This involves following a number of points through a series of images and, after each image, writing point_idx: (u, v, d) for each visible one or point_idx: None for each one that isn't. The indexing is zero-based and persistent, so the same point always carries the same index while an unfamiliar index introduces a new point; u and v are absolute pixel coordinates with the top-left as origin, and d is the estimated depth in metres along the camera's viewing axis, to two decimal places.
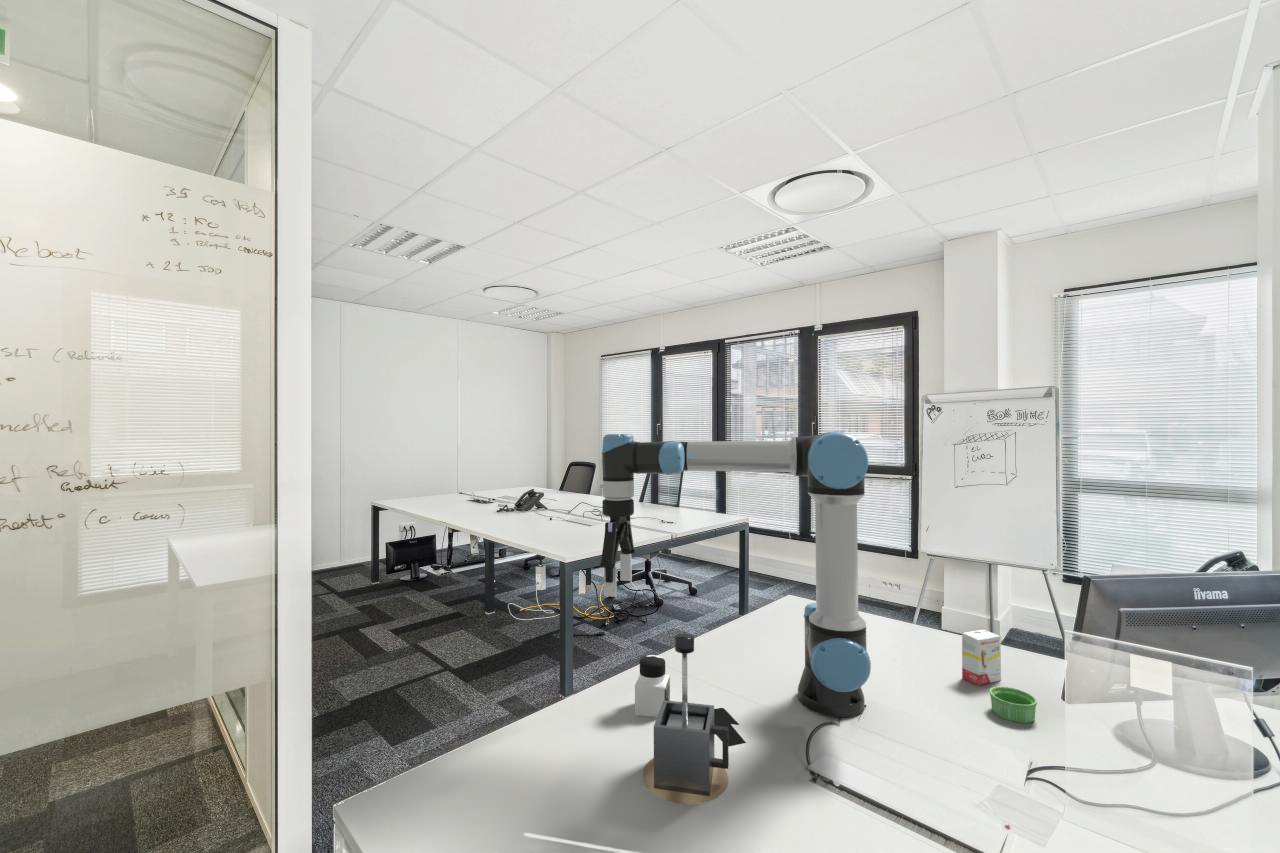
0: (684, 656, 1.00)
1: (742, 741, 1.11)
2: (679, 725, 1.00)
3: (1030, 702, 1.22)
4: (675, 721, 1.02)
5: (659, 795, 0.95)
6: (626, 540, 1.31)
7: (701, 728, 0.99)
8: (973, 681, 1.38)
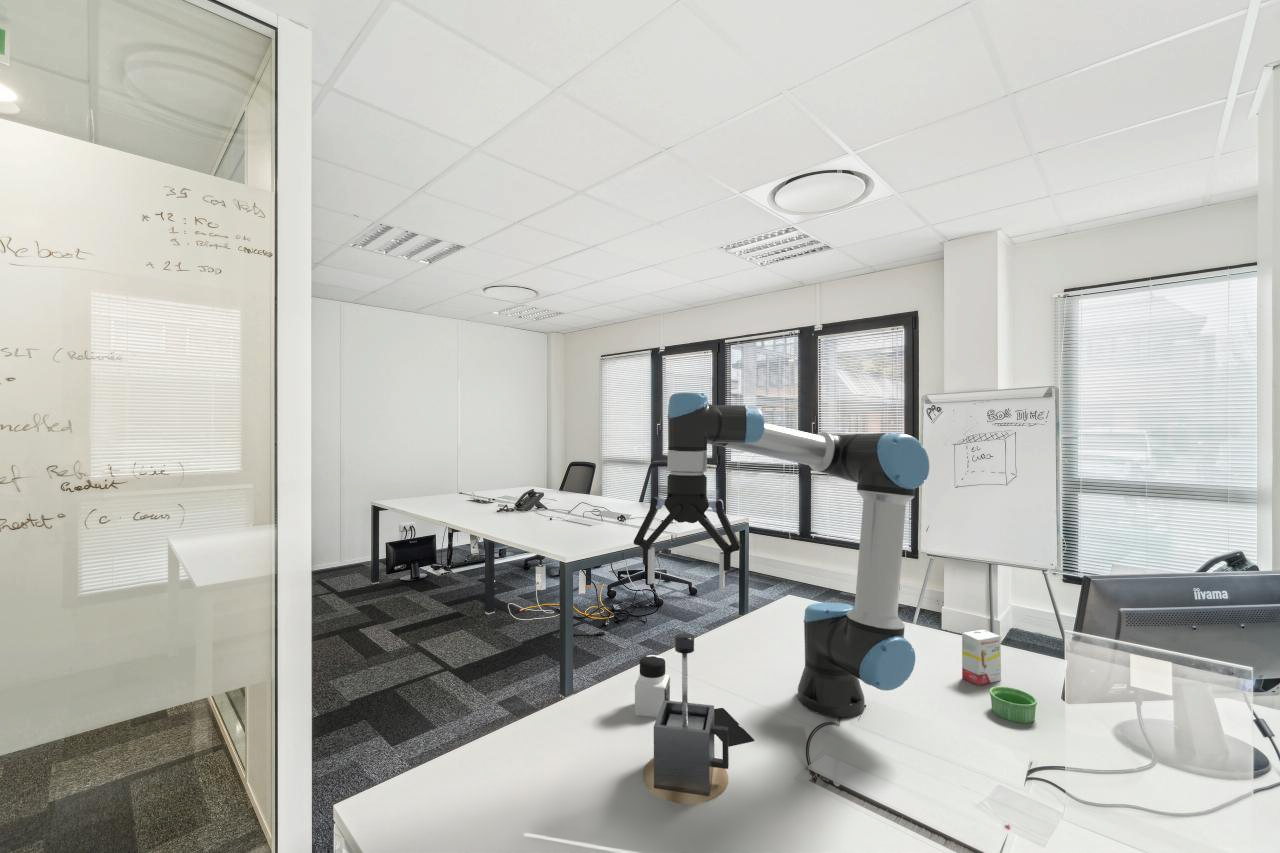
0: (684, 656, 1.00)
1: (742, 741, 1.11)
2: (679, 725, 1.00)
3: (1030, 702, 1.22)
4: (675, 721, 1.02)
5: (659, 795, 0.95)
6: (707, 531, 1.00)
7: (701, 728, 0.99)
8: (973, 681, 1.38)
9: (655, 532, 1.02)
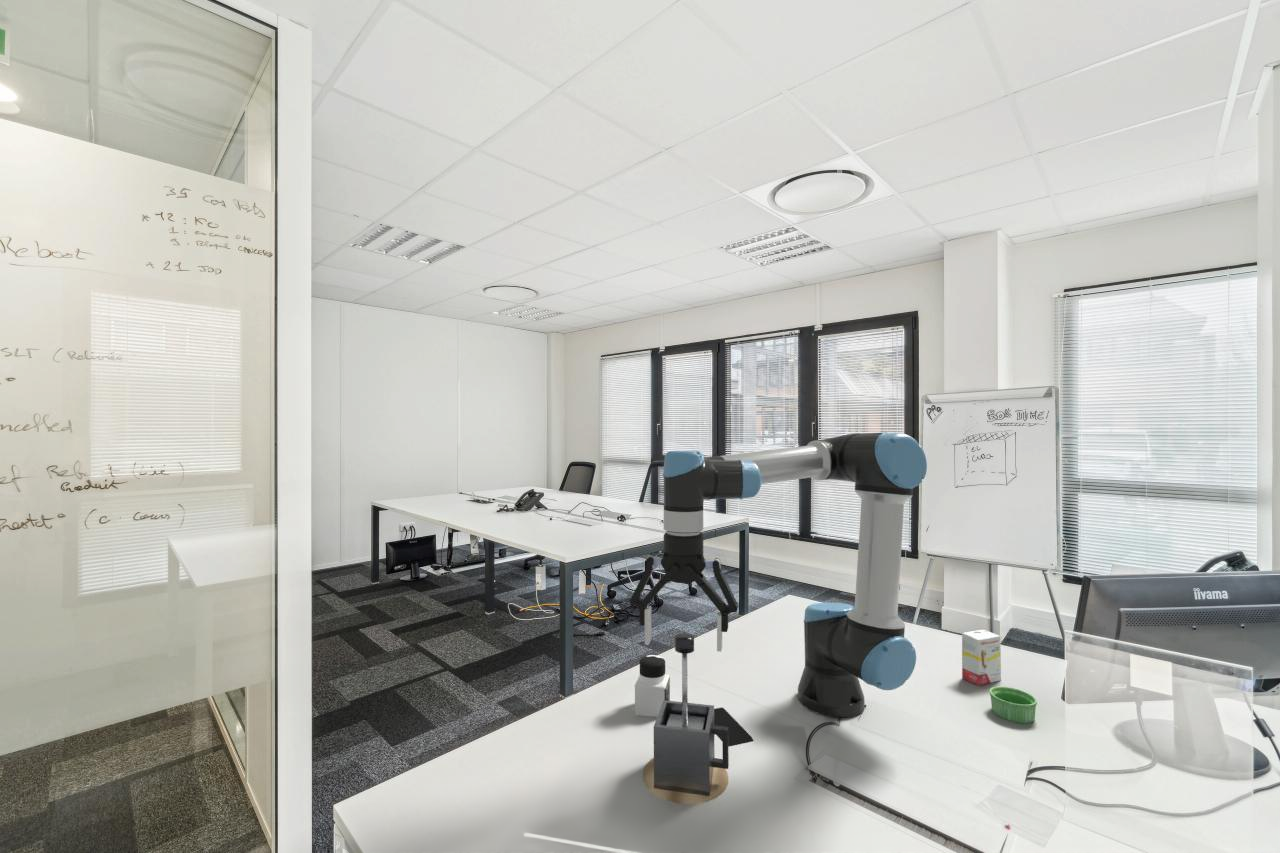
0: (684, 656, 1.00)
1: (742, 741, 1.11)
2: (679, 725, 1.00)
3: (1030, 702, 1.22)
4: (675, 721, 1.02)
5: (659, 795, 0.95)
6: None
7: (701, 728, 0.99)
8: (973, 681, 1.38)
9: (651, 592, 1.01)
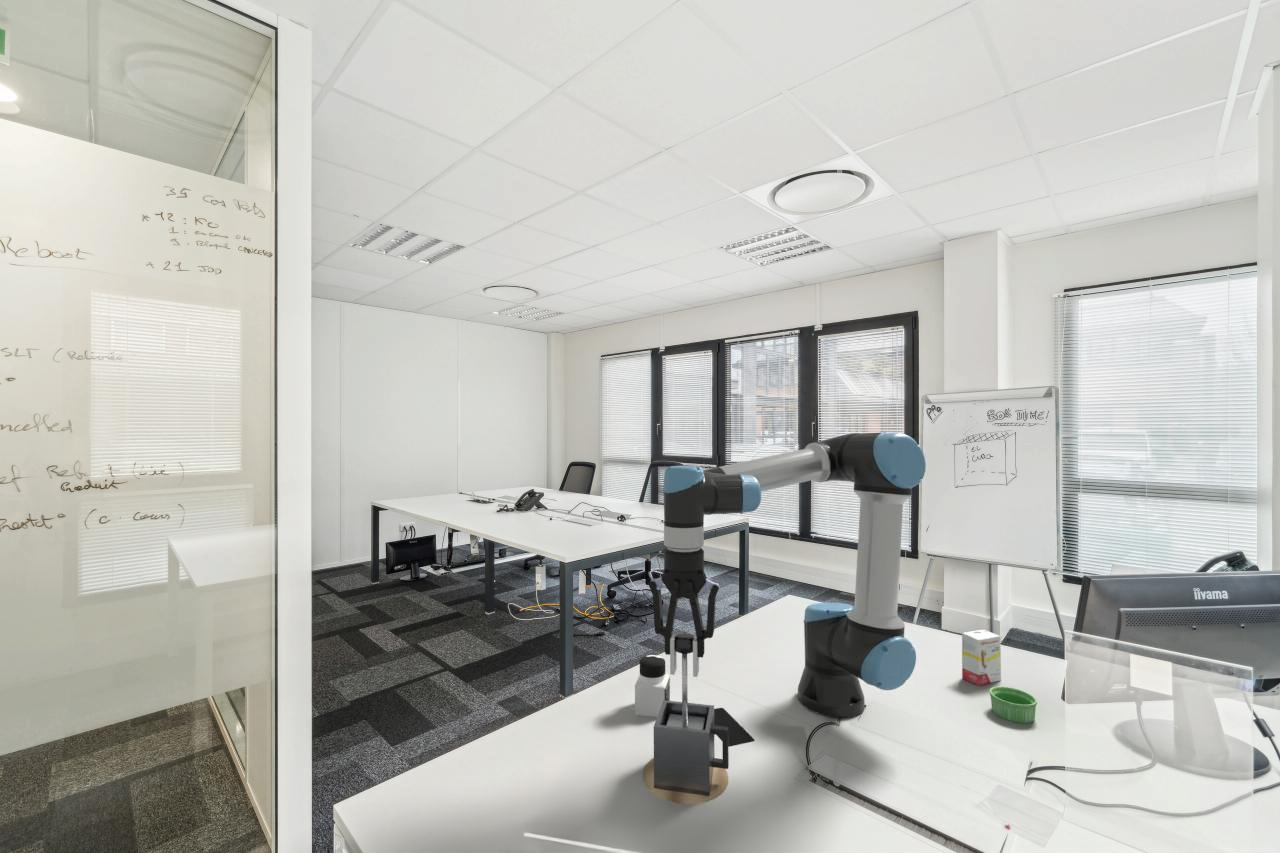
0: (684, 656, 1.00)
1: (742, 741, 1.11)
2: (679, 725, 1.00)
3: (1030, 702, 1.22)
4: (675, 721, 1.02)
5: (659, 795, 0.95)
6: (692, 611, 1.00)
7: (701, 728, 0.99)
8: (973, 681, 1.38)
9: (668, 617, 1.00)
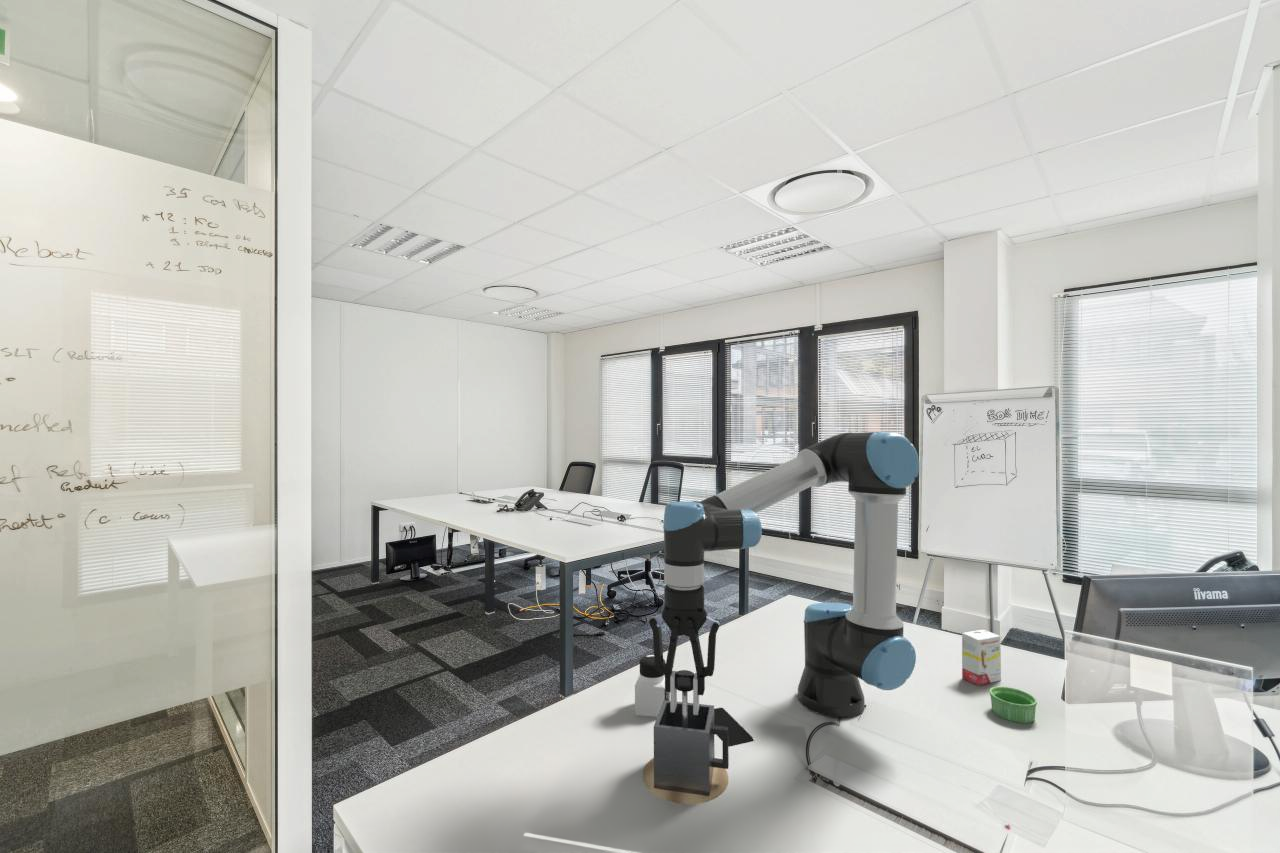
0: (684, 694, 1.00)
1: (743, 741, 1.11)
2: None
3: (1030, 702, 1.22)
4: None
5: (659, 795, 0.95)
6: (692, 649, 1.00)
7: None
8: (973, 681, 1.38)
9: (669, 655, 1.00)
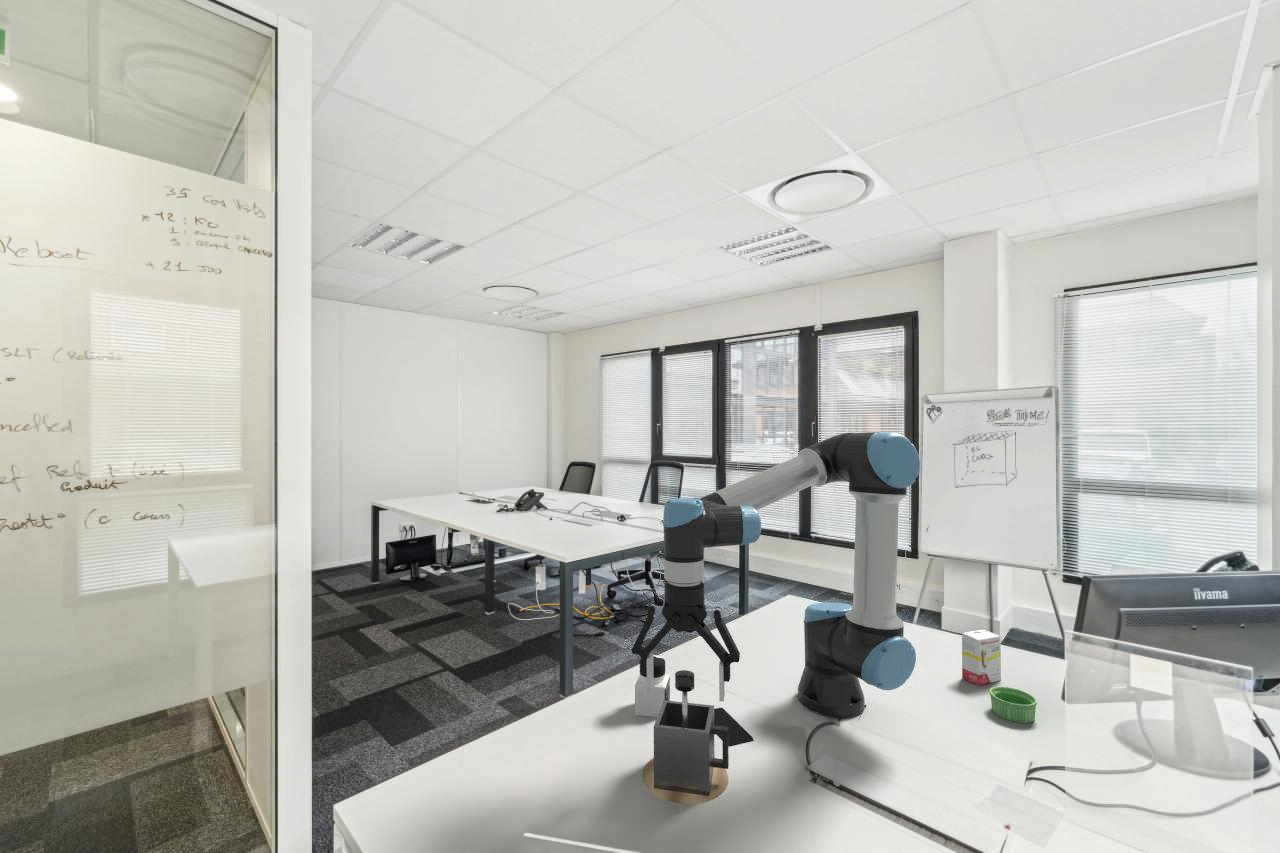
0: (684, 694, 1.00)
1: (743, 741, 1.11)
2: None
3: (1030, 702, 1.22)
4: None
5: (659, 795, 0.95)
6: None
7: None
8: (973, 681, 1.38)
9: (653, 641, 1.01)
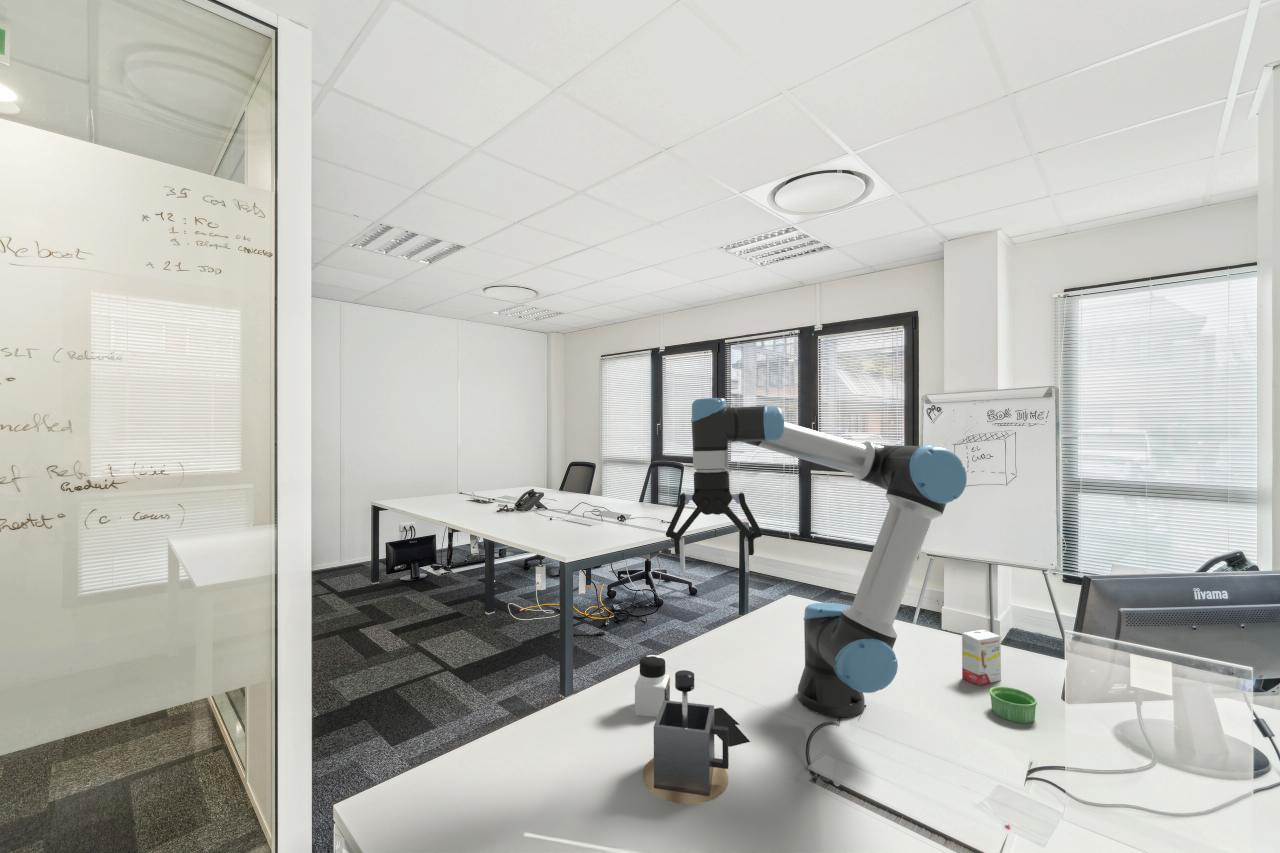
0: (684, 694, 1.00)
1: (743, 741, 1.11)
2: None
3: (1030, 702, 1.22)
4: None
5: (659, 795, 0.95)
6: (732, 521, 1.13)
7: None
8: (973, 681, 1.38)
9: (685, 524, 1.14)
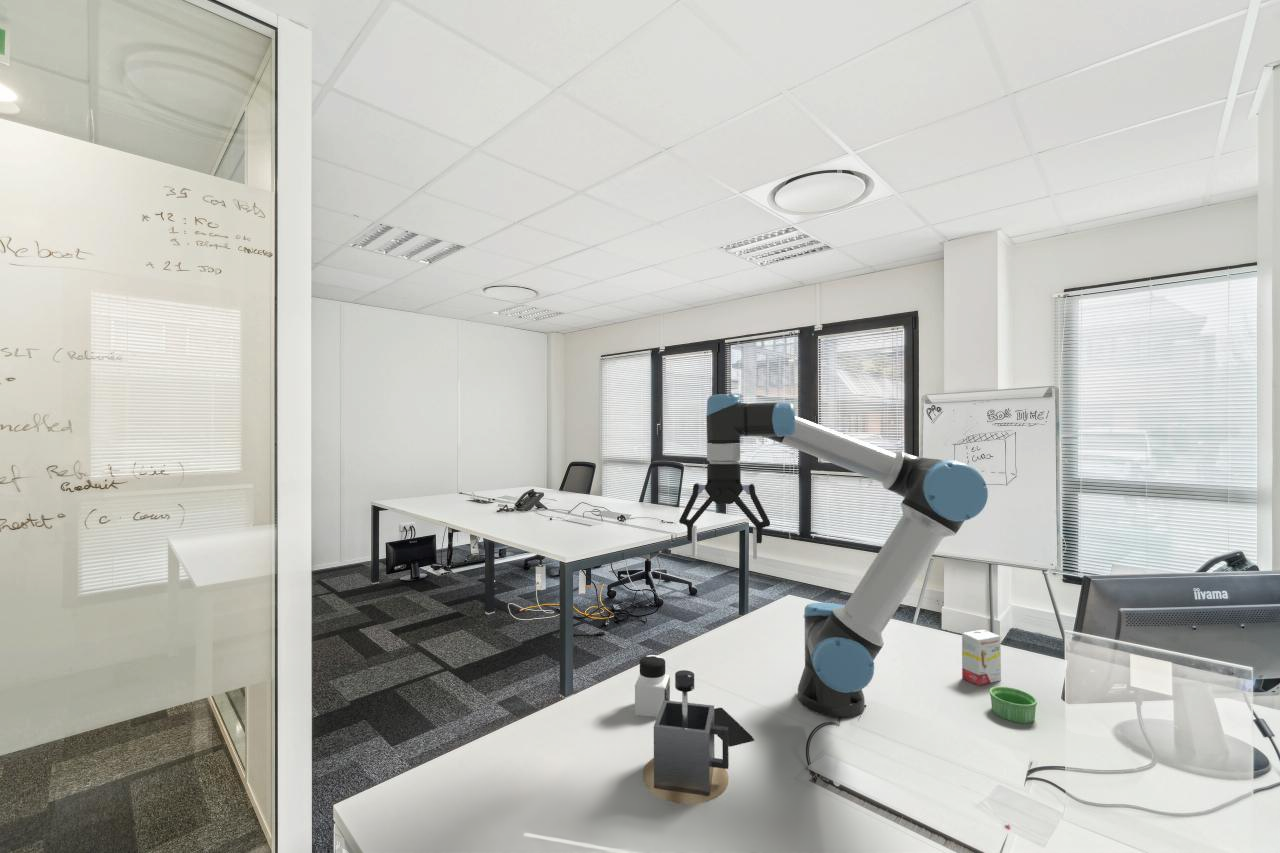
0: (684, 694, 1.00)
1: (743, 741, 1.11)
2: None
3: (1030, 702, 1.22)
4: None
5: (659, 795, 0.95)
6: None
7: None
8: (973, 681, 1.38)
9: (697, 512, 1.21)
